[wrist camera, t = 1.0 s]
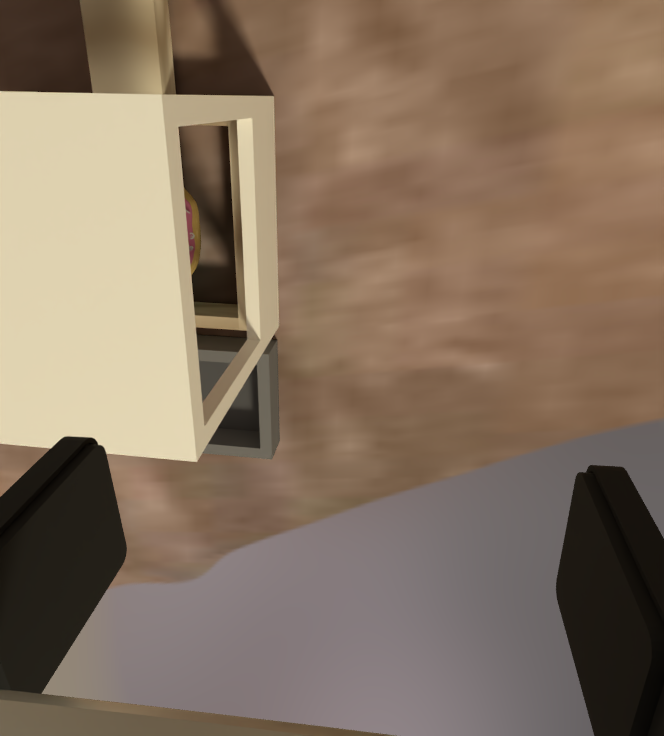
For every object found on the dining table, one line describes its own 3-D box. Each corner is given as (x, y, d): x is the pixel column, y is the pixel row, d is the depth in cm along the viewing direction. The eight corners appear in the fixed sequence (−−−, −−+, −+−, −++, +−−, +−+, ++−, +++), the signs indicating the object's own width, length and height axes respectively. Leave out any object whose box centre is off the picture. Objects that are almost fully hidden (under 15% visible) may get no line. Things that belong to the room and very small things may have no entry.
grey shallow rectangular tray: (69, 325, 41) (49, 339, 39) (277, 339, 40) (268, 354, 37) (87, 423, 45) (69, 441, 42) (279, 440, 43) (271, 459, 41)
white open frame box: (23, 91, 35) (-259, 86, 20) (273, 96, 33) (161, 94, 19) (64, 312, 41) (-131, 431, 26) (278, 326, 39) (196, 461, 25)
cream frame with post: (9, -66, 31) (-197, -148, 21) (247, -69, 30) (155, -160, 19) (74, 305, 40) (-46, 378, 30) (261, 317, 39) (203, 398, 28)
